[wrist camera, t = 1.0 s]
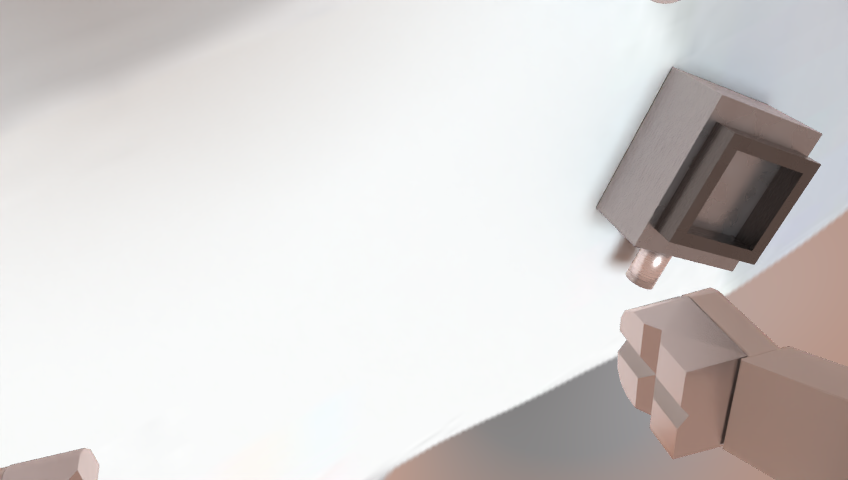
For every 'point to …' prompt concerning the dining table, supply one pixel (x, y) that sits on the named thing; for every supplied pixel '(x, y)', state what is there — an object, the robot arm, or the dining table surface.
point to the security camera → (665, 1)
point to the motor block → (707, 178)
